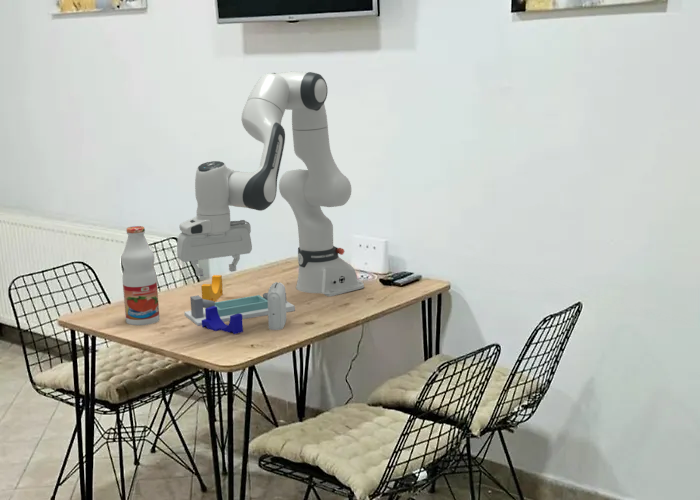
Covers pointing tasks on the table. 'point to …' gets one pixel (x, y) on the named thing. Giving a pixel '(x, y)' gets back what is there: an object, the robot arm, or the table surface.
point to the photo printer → (276, 306)
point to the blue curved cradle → (217, 324)
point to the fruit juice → (139, 279)
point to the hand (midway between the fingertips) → (216, 273)
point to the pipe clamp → (213, 289)
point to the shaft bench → (231, 308)
